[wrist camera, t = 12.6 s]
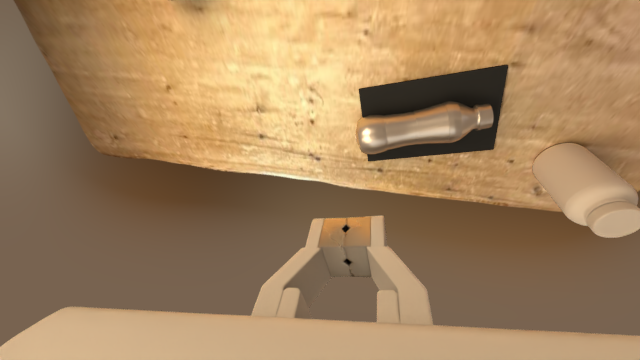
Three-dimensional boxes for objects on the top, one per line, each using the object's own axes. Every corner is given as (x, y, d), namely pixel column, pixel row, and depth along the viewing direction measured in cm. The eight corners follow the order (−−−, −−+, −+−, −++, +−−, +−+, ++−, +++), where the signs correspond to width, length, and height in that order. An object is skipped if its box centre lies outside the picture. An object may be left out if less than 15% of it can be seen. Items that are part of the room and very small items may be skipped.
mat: (507, 64, 39) (508, 65, 39) (492, 148, 47) (493, 149, 46) (358, 88, 44) (358, 89, 44) (368, 160, 52) (368, 161, 52)
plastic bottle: (360, 151, 49) (481, 133, 44) (357, 160, 43) (497, 141, 38) (355, 116, 48) (480, 92, 42) (351, 120, 41) (497, 94, 36)
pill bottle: (520, 163, 48) (569, 224, 36) (570, 132, 43) (644, 190, 31) (546, 187, 50) (600, 253, 38) (596, 160, 45) (676, 224, 33)
